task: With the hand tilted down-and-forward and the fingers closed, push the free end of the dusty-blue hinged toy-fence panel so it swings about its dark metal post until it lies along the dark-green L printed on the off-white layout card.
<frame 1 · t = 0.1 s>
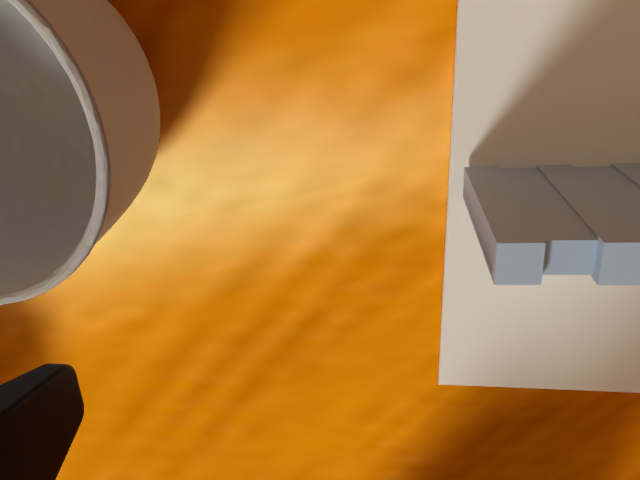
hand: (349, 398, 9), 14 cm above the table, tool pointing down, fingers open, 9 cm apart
fence panel: (629, 213, 17), point 4 cm above the table, hinge at 60.0°
teacup: (36, 111, 23), on the table
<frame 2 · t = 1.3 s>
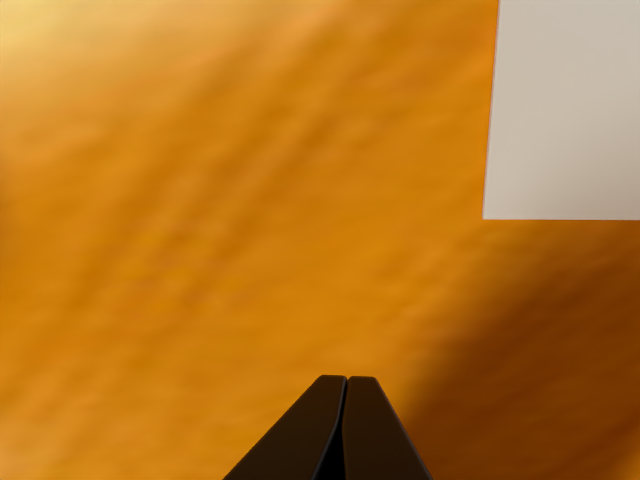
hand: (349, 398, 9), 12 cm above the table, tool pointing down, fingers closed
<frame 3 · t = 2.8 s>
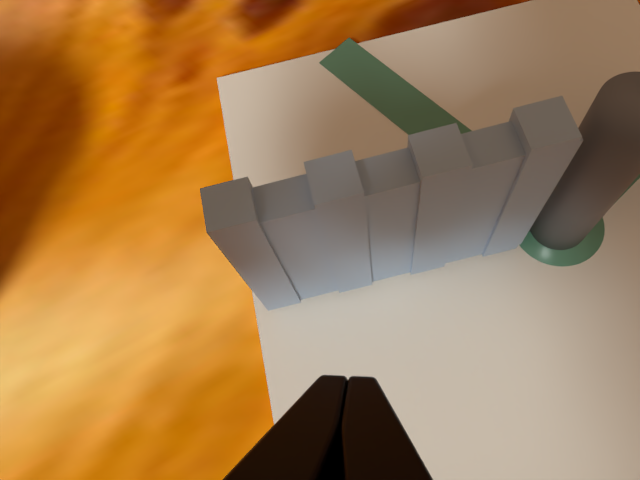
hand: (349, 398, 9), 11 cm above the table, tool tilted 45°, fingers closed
fence panel: (390, 223, 16), point 4 cm above the table, hinge at 60.0°
layout card: (491, 238, 20), on the table
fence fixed: (557, 224, 20), resting on layout card
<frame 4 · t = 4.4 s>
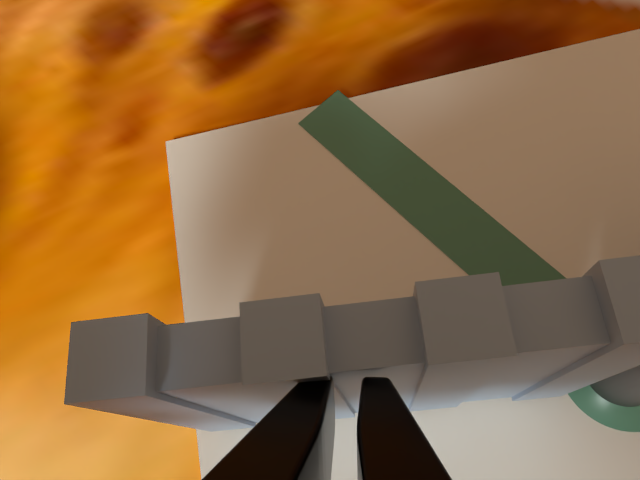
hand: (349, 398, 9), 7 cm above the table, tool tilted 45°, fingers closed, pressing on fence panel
fence panel: (381, 367, 11), point 4 cm above the table, hinge at 52.5°, touching gripper
layout card: (529, 382, 15), on the table
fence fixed: (622, 366, 14), resting on layout card
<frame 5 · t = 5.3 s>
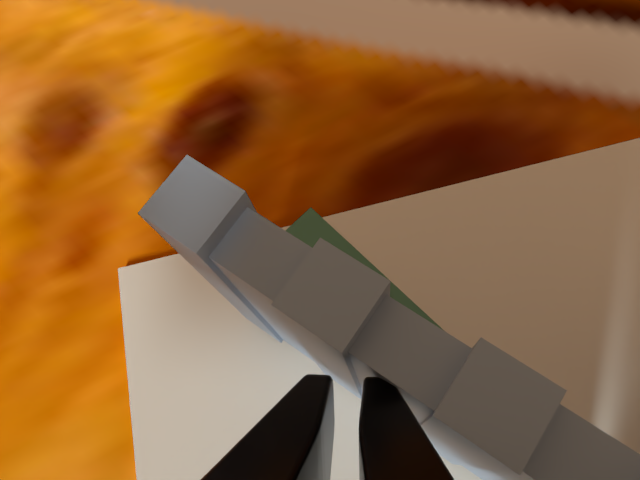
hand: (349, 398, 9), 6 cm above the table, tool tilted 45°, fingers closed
fence panel: (407, 381, 11), point 4 cm above the table, hinge at 11.1°, touching gripper
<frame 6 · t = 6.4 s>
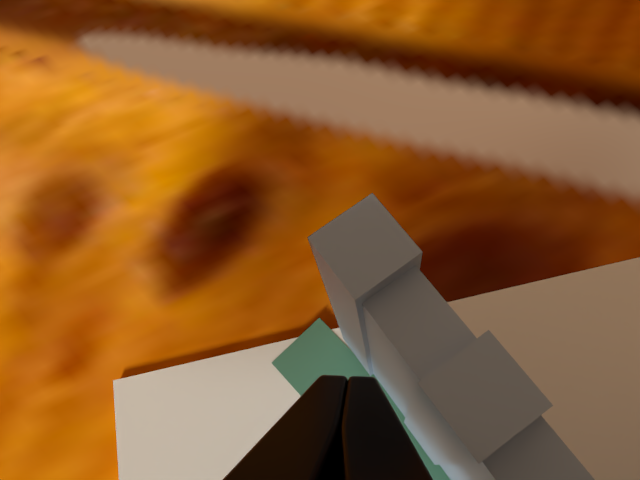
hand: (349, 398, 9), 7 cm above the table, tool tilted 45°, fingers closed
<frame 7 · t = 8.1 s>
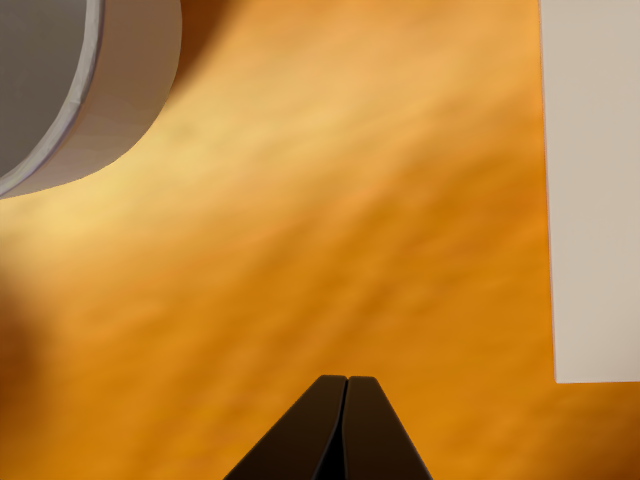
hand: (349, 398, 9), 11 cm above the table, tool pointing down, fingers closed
teacup: (46, 61, 20), on the table
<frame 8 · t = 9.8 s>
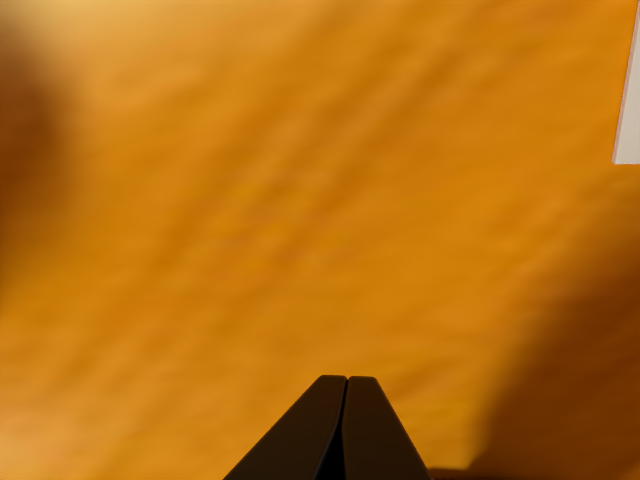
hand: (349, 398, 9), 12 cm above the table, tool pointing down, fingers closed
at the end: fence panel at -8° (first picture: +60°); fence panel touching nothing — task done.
